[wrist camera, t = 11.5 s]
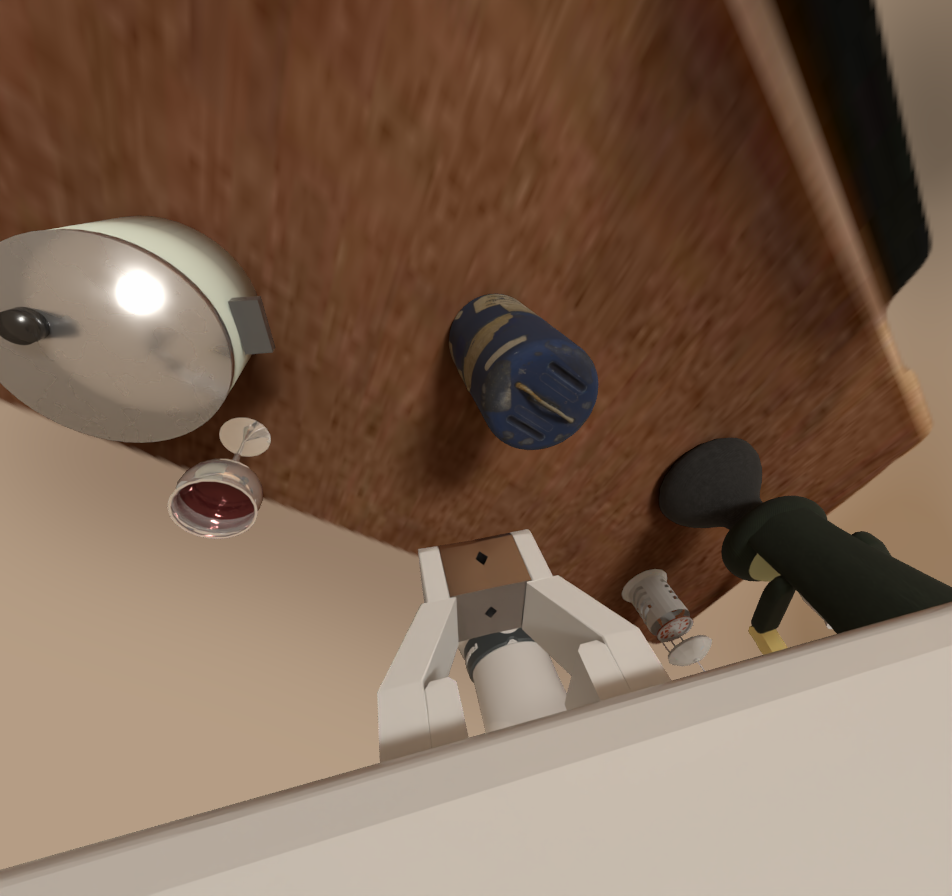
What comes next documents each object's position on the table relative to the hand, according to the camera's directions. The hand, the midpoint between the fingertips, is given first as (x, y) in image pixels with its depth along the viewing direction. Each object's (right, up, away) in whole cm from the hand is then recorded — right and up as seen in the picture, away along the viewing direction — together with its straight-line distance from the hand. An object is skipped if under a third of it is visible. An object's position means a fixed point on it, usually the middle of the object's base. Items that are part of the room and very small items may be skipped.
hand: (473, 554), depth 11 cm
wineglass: (-25, +4, +34) cm, 42 cm away
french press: (+34, -25, +70) cm, 82 cm away
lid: (-24, +10, +17) cm, 31 cm away
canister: (+1, +15, +34) cm, 37 cm away
